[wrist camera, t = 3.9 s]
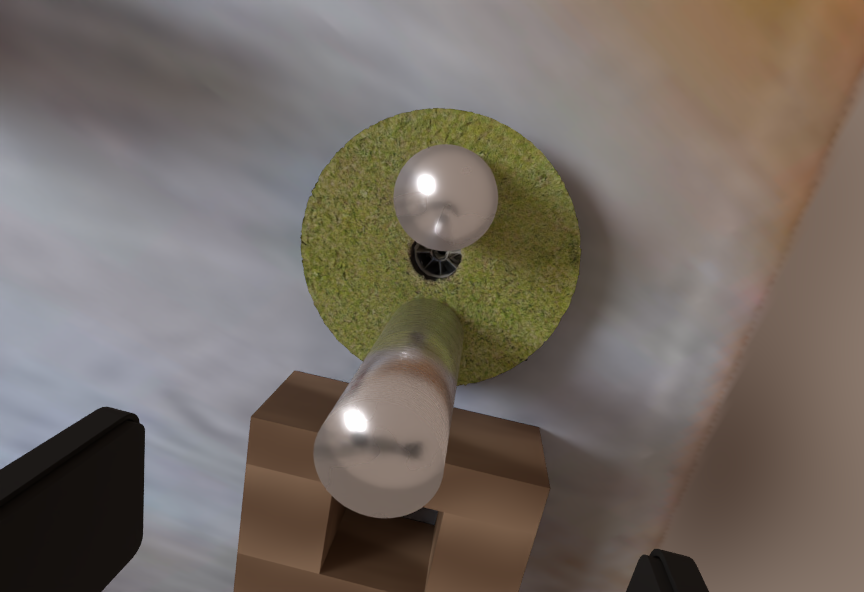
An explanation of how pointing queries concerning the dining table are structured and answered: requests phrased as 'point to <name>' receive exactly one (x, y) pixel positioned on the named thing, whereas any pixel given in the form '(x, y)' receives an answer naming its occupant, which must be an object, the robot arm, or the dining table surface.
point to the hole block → (385, 537)
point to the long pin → (395, 416)
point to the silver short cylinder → (445, 197)
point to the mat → (442, 270)
